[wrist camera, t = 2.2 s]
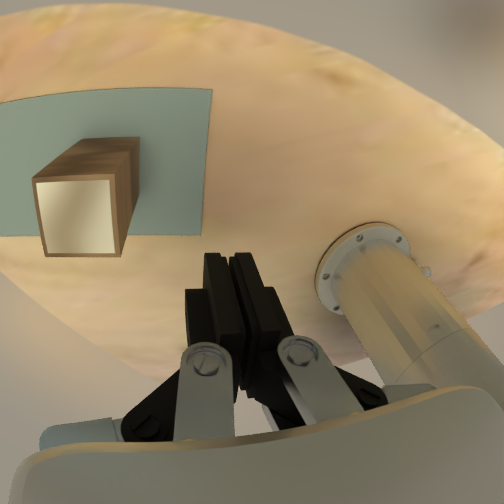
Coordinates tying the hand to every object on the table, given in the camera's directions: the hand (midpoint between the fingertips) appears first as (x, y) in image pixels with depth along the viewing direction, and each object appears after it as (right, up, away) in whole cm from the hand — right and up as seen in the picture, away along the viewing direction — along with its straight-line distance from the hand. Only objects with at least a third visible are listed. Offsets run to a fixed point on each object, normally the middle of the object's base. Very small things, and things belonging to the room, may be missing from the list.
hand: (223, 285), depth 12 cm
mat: (-13, +9, +12) cm, 20 cm away
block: (-11, +8, +12) cm, 18 cm away
